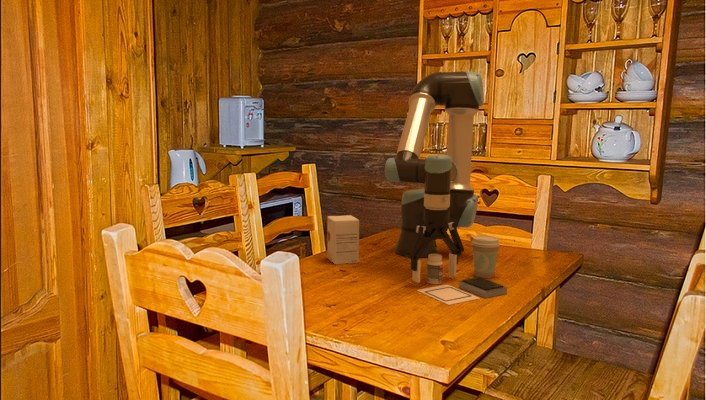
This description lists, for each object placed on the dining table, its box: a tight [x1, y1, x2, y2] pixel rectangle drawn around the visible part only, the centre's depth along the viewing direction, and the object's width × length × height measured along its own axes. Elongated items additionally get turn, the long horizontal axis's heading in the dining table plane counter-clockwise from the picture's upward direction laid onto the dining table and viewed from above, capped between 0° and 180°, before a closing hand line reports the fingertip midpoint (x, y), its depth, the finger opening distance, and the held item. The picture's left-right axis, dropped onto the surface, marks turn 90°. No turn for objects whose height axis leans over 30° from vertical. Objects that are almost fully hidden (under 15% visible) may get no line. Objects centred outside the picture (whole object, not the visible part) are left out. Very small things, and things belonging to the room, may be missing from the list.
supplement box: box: [326, 214, 360, 265], centre depth 190 cm, size 9×9×15 cm
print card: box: [416, 284, 481, 306], centre depth 156 cm, size 14×11×1 cm
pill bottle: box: [426, 253, 444, 285], centre depth 166 cm, size 5×5×8 cm
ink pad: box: [458, 277, 508, 299], centre depth 159 cm, size 11×8×2 cm
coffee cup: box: [471, 235, 501, 279], centre depth 173 cm, size 9×9×12 cm
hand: (434, 278), depth 167 cm, fingers open, 13 cm apart
